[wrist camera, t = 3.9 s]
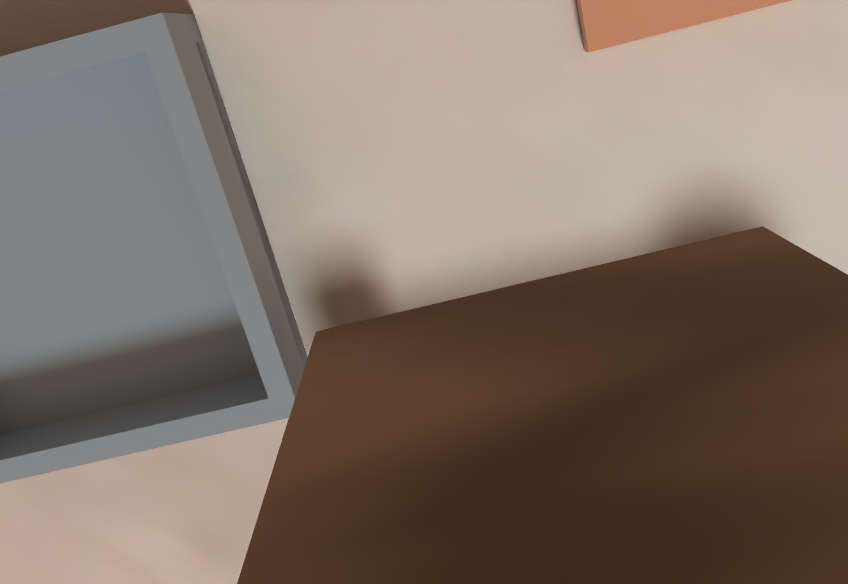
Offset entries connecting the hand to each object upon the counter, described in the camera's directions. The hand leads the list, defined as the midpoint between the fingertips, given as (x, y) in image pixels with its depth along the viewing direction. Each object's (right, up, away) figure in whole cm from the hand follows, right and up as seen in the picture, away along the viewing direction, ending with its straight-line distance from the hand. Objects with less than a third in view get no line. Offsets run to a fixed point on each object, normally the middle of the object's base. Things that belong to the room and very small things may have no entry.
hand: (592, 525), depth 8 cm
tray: (-10, +4, +10) cm, 15 cm away
